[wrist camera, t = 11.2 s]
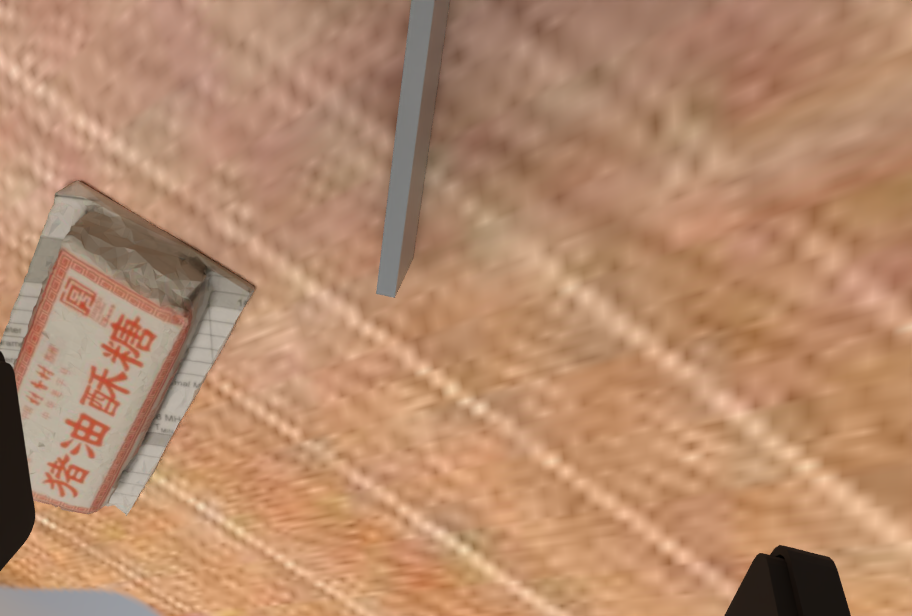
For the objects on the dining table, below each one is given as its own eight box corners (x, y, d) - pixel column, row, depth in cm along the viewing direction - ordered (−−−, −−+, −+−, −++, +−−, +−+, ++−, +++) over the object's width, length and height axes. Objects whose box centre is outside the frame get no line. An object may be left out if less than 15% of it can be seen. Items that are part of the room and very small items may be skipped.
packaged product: (13, 206, 34) (223, 329, 35) (76, 169, 38) (262, 280, 40) (-79, 473, 42) (94, 564, 44) (-19, 418, 46) (137, 503, 48)
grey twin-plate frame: (-201, -315, 30) (-305, -341, 26) (478, -198, 28) (462, -209, 25) (-111, 151, 39) (-181, 178, 35) (413, 258, 37) (394, 297, 34)
